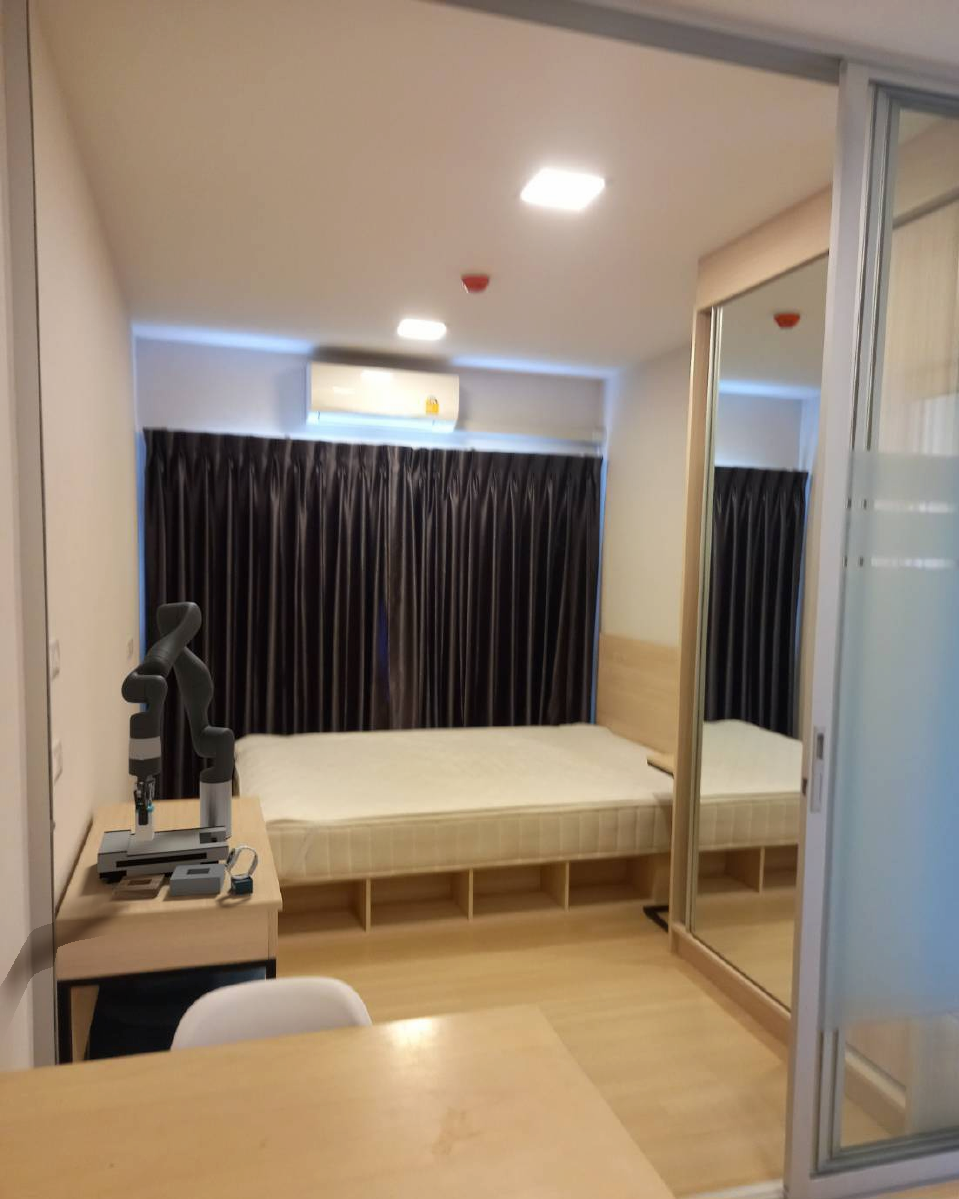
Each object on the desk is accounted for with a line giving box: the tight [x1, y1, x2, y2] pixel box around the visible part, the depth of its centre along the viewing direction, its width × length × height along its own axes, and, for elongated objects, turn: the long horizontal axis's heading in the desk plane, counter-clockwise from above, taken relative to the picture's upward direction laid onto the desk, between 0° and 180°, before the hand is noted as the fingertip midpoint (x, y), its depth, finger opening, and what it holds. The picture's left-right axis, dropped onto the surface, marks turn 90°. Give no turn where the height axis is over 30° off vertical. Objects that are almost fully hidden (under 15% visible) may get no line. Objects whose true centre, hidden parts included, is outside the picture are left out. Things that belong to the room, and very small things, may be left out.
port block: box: [169, 862, 226, 897], centre depth 208 cm, size 10×12×4 cm
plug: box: [134, 805, 155, 841], centre depth 206 cm, size 3×4×8 cm, turn 100°
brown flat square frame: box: [113, 874, 166, 900], centre depth 205 cm, size 10×10×2 cm
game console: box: [96, 825, 230, 885], centre depth 223 cm, size 21×32×8 cm, turn 110°
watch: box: [224, 844, 259, 896], centre depth 206 cm, size 6×8×11 cm
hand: (144, 822), depth 205 cm, fingers closed on plug, 2 cm apart
